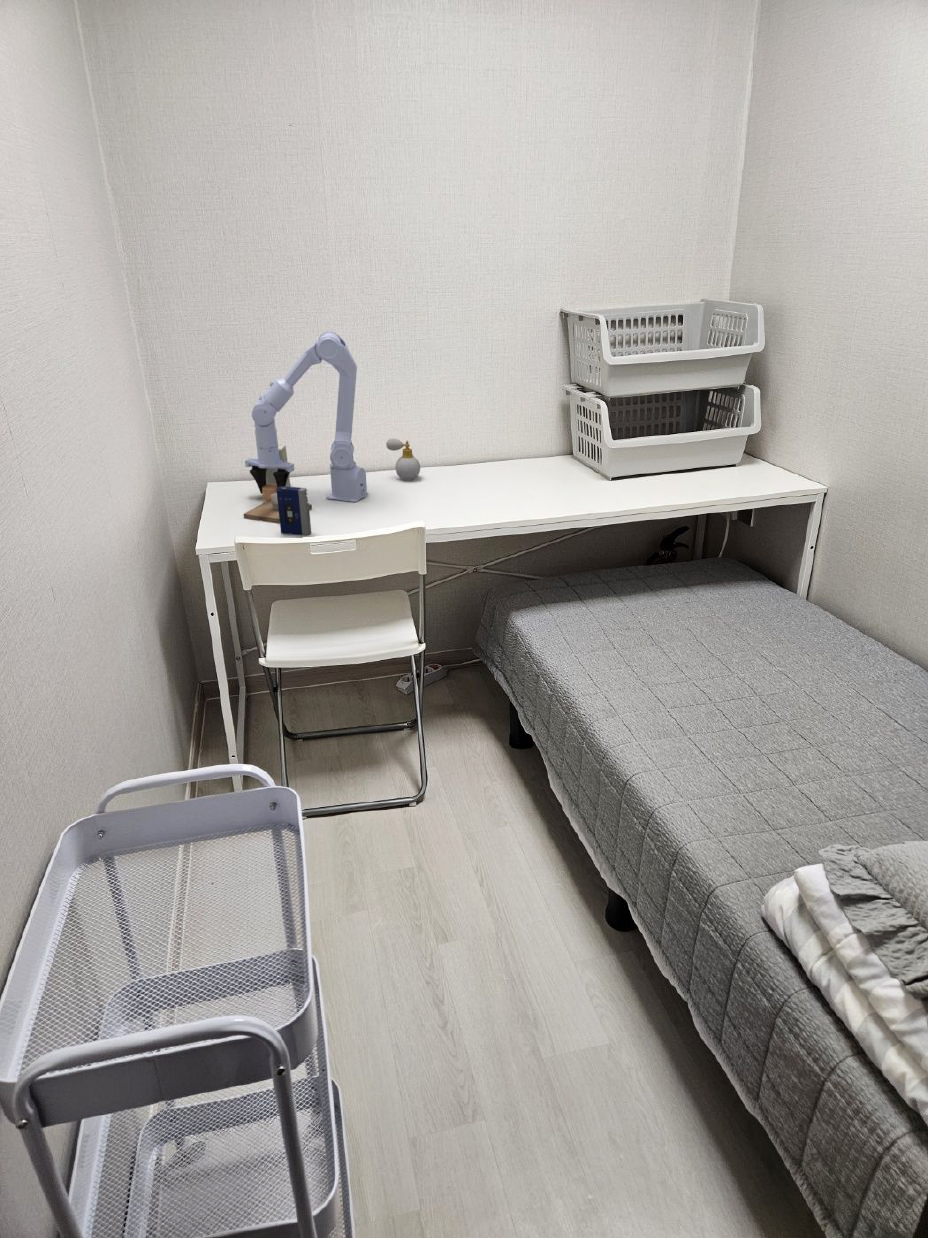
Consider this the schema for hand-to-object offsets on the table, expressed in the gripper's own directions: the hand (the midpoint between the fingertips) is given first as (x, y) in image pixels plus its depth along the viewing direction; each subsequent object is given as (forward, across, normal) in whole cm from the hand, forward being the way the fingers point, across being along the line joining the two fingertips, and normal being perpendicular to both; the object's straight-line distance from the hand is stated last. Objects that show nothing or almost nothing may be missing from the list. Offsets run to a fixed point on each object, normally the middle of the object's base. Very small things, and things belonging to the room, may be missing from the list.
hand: (272, 493), depth 232 cm
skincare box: (+2, -4, +9) cm, 10 cm away
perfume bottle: (+2, +27, +30) cm, 40 cm away
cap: (+1, 0, 0) cm, 1 cm away
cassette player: (+2, +20, -21) cm, 29 cm away
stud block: (+1, +8, -10) cm, 13 cm away
